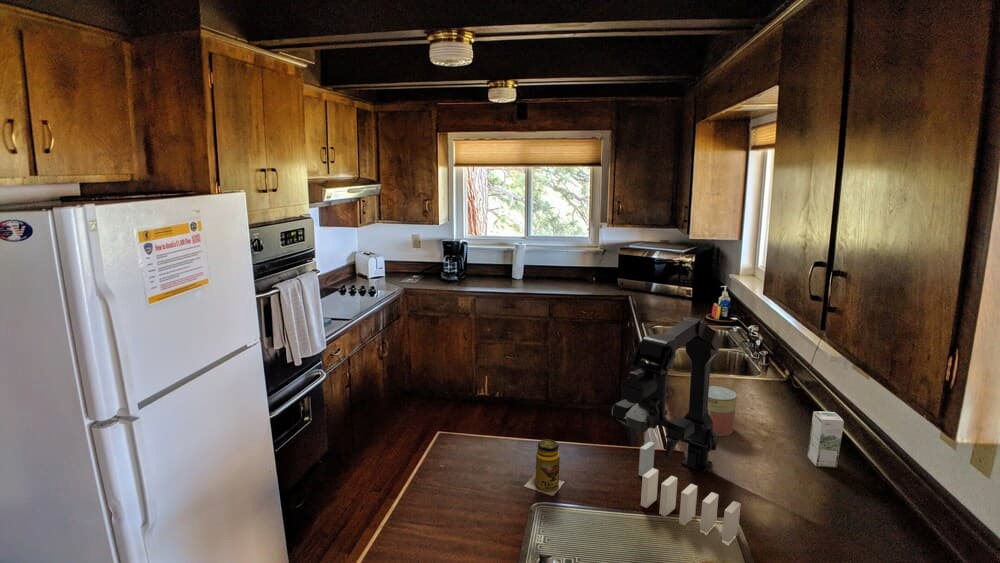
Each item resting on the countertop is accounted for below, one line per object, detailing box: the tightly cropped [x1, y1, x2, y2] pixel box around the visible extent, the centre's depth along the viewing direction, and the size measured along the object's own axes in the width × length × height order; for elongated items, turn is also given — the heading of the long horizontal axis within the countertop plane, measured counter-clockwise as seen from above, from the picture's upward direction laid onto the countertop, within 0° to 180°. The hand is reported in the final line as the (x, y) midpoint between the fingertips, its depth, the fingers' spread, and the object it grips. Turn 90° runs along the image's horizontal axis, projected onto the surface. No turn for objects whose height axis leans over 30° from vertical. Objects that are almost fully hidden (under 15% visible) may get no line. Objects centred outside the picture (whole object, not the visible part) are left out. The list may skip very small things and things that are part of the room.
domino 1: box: [638, 440, 656, 477], centre depth 151 cm, size 5×2×8 cm, turn 136°
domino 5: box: [699, 491, 720, 533], centre depth 127 cm, size 5×2×8 cm, turn 136°
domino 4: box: [678, 483, 699, 524], centre depth 131 cm, size 5×2×8 cm, turn 136°
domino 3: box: [658, 475, 679, 517], centre depth 134 cm, size 5×2×8 cm, turn 136°
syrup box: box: [807, 410, 845, 468], centre depth 157 cm, size 6×6×14 cm
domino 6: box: [721, 500, 742, 542], centre depth 124 cm, size 5×2×8 cm, turn 136°
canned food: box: [707, 385, 738, 437], centre depth 178 cm, size 11×11×12 cm
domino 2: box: [640, 467, 659, 509], centre depth 137 cm, size 5×2×8 cm, turn 136°
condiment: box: [523, 438, 565, 497], centre depth 144 cm, size 7×8×12 cm
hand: (649, 451), depth 133 cm, fingers open, 9 cm apart
